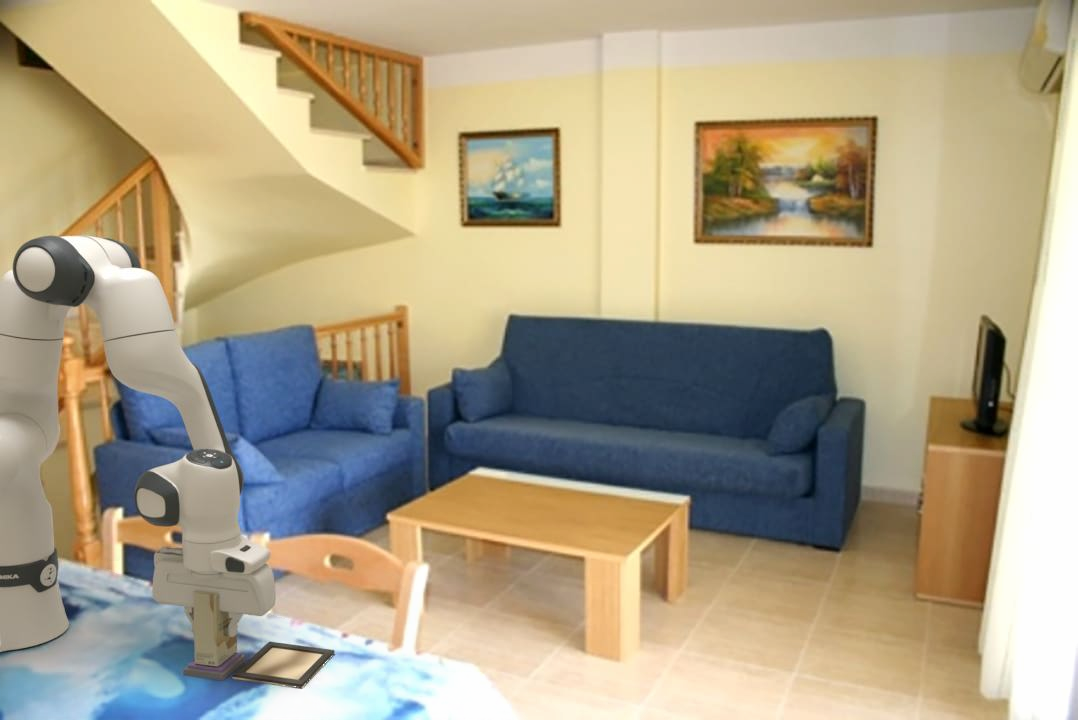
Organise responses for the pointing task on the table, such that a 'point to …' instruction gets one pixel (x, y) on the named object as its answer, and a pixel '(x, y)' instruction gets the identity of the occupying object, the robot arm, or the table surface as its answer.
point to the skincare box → (211, 630)
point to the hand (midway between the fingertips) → (214, 633)
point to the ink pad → (215, 668)
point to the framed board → (283, 664)
